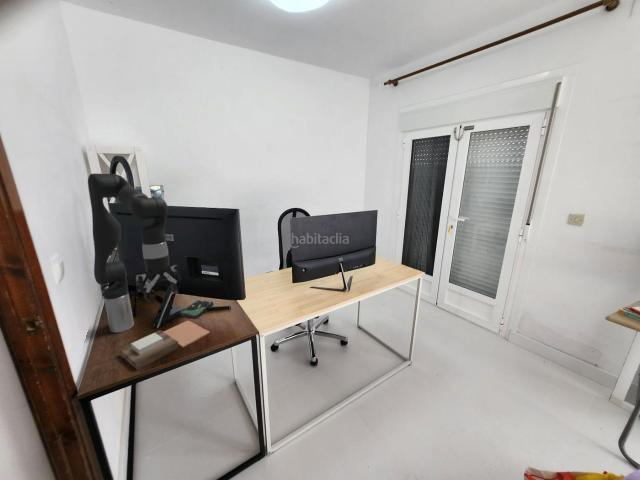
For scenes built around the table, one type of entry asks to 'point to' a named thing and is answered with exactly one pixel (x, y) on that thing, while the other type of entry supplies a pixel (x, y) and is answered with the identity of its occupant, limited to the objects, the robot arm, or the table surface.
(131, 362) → the deck
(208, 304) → the disk drive
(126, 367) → the table surface
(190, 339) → the mat
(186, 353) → the table surface
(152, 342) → the tile
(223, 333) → the table surface
